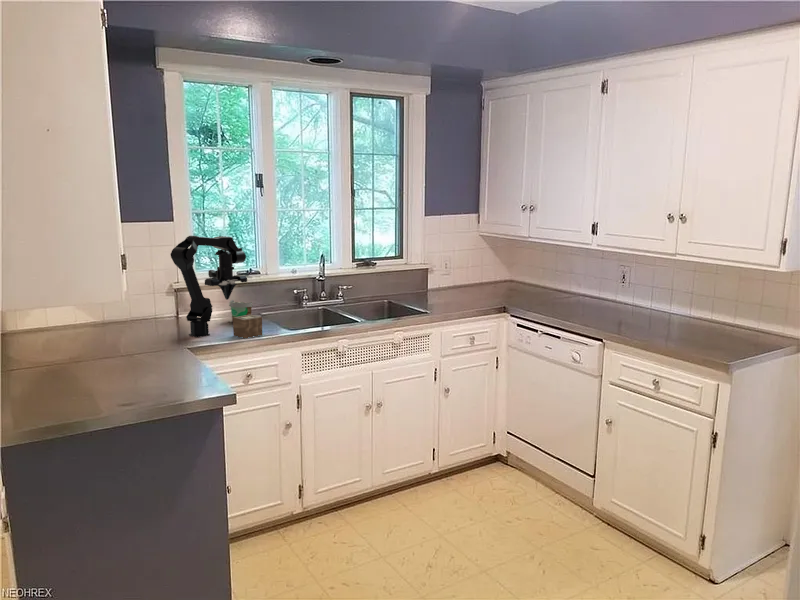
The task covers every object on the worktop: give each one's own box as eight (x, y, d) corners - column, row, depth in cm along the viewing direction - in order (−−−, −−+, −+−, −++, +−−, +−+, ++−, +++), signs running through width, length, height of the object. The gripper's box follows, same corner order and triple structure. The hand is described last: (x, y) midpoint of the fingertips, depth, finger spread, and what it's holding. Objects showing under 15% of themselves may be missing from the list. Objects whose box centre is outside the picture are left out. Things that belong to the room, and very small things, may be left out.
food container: (224, 322, 289) (223, 301, 287) (233, 320, 294) (232, 299, 292) (244, 325, 283) (243, 304, 281) (253, 323, 288) (252, 302, 287)
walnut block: (244, 338, 257) (244, 320, 256) (233, 335, 262) (232, 317, 261) (262, 335, 264) (261, 316, 262) (251, 332, 269) (250, 314, 267)
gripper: (233, 261, 284) (234, 294, 287) (196, 264, 270) (198, 299, 273) (247, 263, 277) (248, 297, 280) (211, 267, 263) (212, 302, 266)
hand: (227, 299), depth 275 cm, fingers closed
